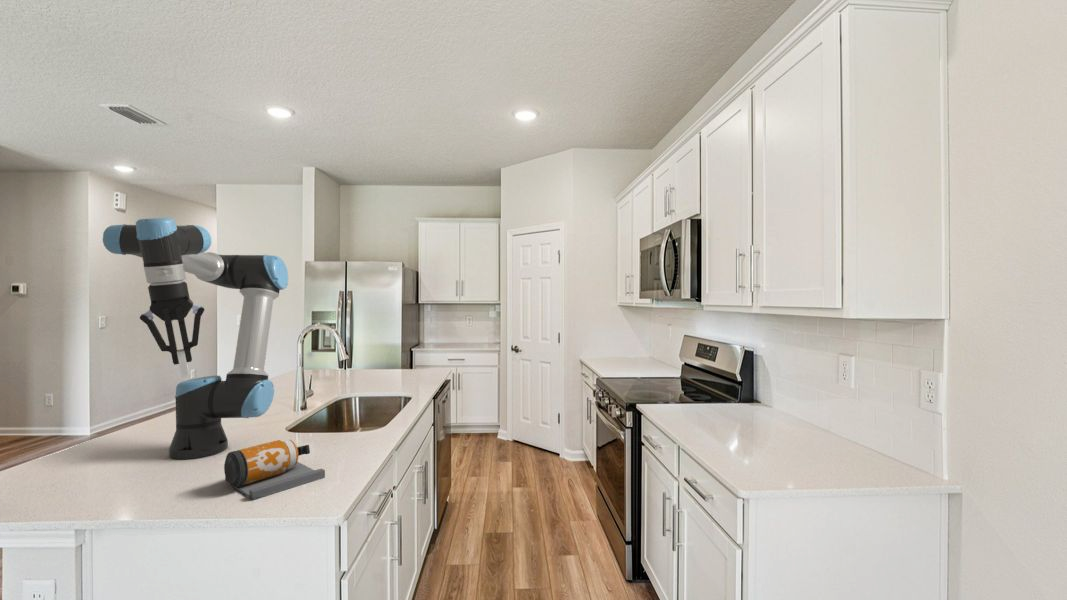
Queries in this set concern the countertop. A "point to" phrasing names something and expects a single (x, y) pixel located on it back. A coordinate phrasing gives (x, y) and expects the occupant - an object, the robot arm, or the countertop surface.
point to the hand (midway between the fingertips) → (185, 375)
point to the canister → (261, 461)
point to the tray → (281, 481)
